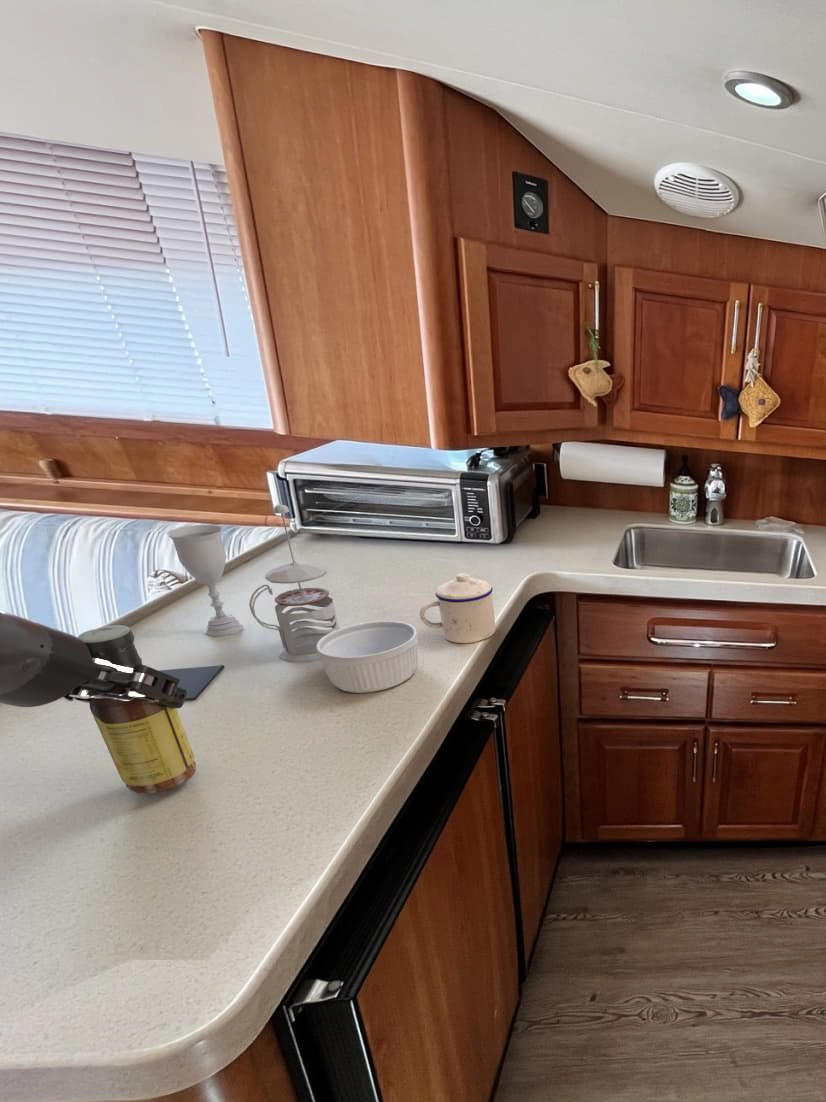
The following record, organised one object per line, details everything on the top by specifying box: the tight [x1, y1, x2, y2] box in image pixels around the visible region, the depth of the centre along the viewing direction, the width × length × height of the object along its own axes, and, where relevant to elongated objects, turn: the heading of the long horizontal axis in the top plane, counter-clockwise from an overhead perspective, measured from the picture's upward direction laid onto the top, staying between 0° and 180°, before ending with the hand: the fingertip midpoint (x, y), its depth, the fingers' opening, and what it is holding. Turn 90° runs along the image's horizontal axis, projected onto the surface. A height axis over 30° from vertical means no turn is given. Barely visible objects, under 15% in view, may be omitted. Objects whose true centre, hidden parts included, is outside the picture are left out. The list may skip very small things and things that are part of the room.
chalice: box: [166, 524, 244, 637], centre depth 107 cm, size 7×7×18 cm
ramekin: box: [316, 620, 419, 694], centre depth 100 cm, size 13×13×7 cm
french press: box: [249, 504, 340, 663], centre depth 102 cm, size 10×12×25 cm
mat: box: [158, 664, 225, 702], centre depth 94 cm, size 10×10×1 cm
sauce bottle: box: [77, 624, 197, 795], centre depth 71 cm, size 6×6×20 cm
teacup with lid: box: [418, 572, 497, 644], centre depth 114 cm, size 12×9×12 cm
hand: (147, 698), depth 73 cm, fingers closed on sauce bottle, 6 cm apart
